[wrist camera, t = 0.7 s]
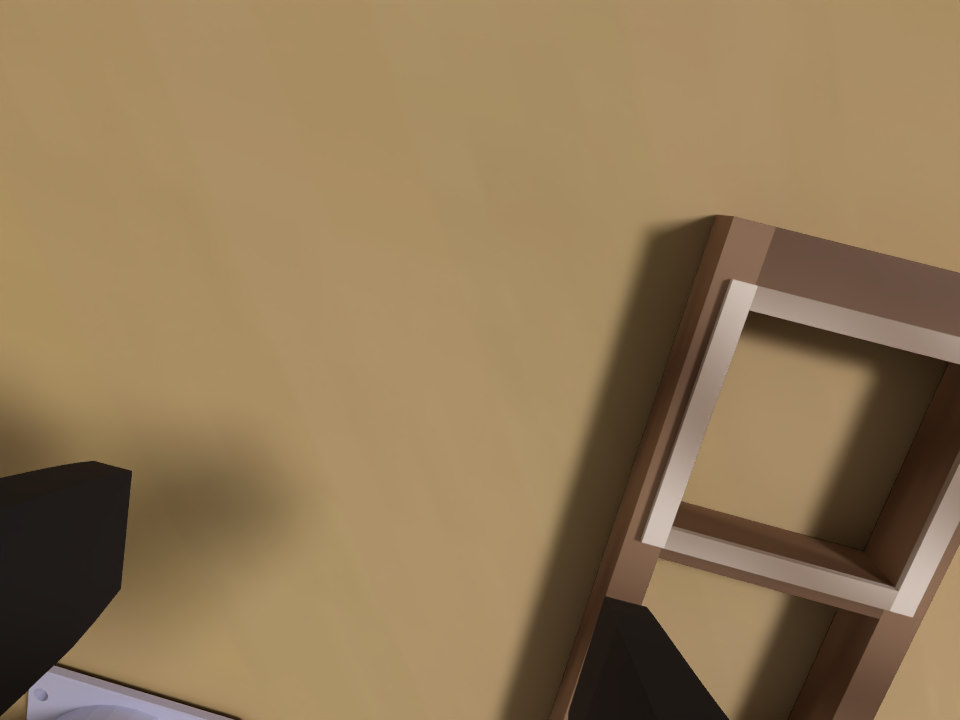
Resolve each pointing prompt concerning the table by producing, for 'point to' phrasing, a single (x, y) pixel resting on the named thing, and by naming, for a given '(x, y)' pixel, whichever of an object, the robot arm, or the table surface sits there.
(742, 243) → the brown wooden compartment tray
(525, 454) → the table surface
